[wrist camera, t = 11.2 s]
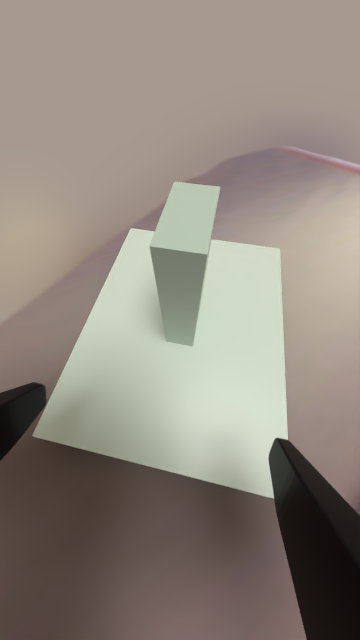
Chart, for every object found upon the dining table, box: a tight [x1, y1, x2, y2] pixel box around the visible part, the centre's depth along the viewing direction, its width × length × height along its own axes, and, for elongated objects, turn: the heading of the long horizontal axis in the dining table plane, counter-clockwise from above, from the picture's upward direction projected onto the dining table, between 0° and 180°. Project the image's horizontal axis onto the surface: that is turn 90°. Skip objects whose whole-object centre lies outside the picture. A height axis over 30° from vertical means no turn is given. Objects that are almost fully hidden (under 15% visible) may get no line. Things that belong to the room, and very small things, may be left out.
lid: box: [32, 182, 288, 498], centre depth 12 cm, size 15×19×11 cm
